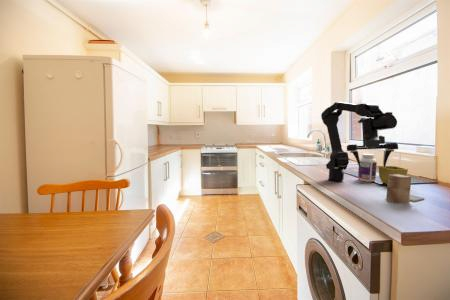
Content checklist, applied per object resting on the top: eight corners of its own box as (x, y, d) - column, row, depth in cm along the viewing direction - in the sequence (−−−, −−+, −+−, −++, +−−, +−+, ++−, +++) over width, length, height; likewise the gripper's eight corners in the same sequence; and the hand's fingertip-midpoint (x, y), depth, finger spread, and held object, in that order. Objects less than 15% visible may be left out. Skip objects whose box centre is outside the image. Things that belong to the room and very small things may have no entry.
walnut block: (386, 199, 89) (388, 174, 88) (396, 198, 90) (398, 174, 89) (398, 203, 84) (400, 177, 83) (409, 202, 85) (411, 176, 84)
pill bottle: (370, 179, 125) (372, 153, 123) (378, 182, 117) (380, 155, 115) (354, 178, 125) (356, 153, 124) (362, 182, 117) (364, 155, 116)
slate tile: (390, 196, 93) (390, 194, 93) (401, 193, 96) (401, 192, 96) (413, 201, 86) (413, 200, 86) (424, 199, 89) (424, 197, 89)
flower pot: (407, 187, 107) (408, 169, 106) (388, 187, 107) (390, 168, 107) (393, 183, 116) (395, 166, 115) (376, 182, 116) (378, 165, 115)
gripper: (346, 131, 97) (348, 167, 96) (400, 127, 88) (402, 167, 87) (346, 133, 107) (347, 166, 106) (394, 130, 98) (396, 166, 97)
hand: (371, 166), depth 99 cm, fingers open, 9 cm apart
